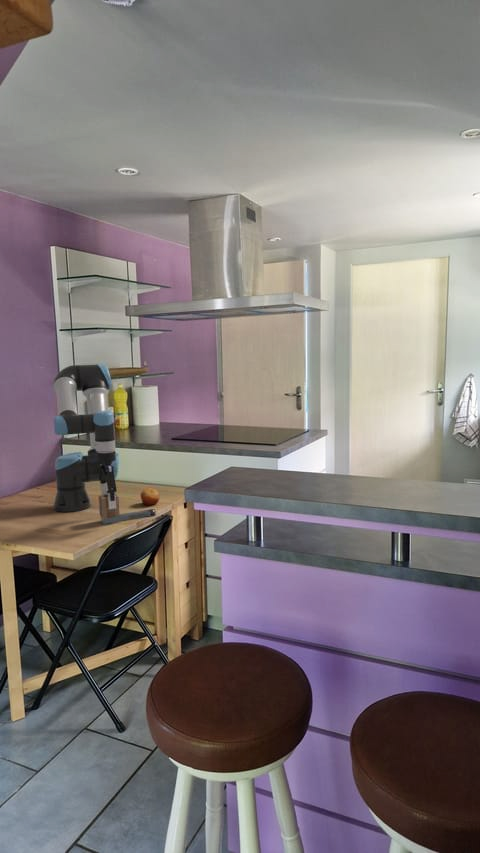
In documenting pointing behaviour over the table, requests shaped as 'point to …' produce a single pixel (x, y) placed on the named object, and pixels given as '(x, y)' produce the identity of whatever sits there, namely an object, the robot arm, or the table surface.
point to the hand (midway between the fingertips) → (108, 503)
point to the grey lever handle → (129, 516)
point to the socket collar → (104, 507)
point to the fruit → (149, 496)
